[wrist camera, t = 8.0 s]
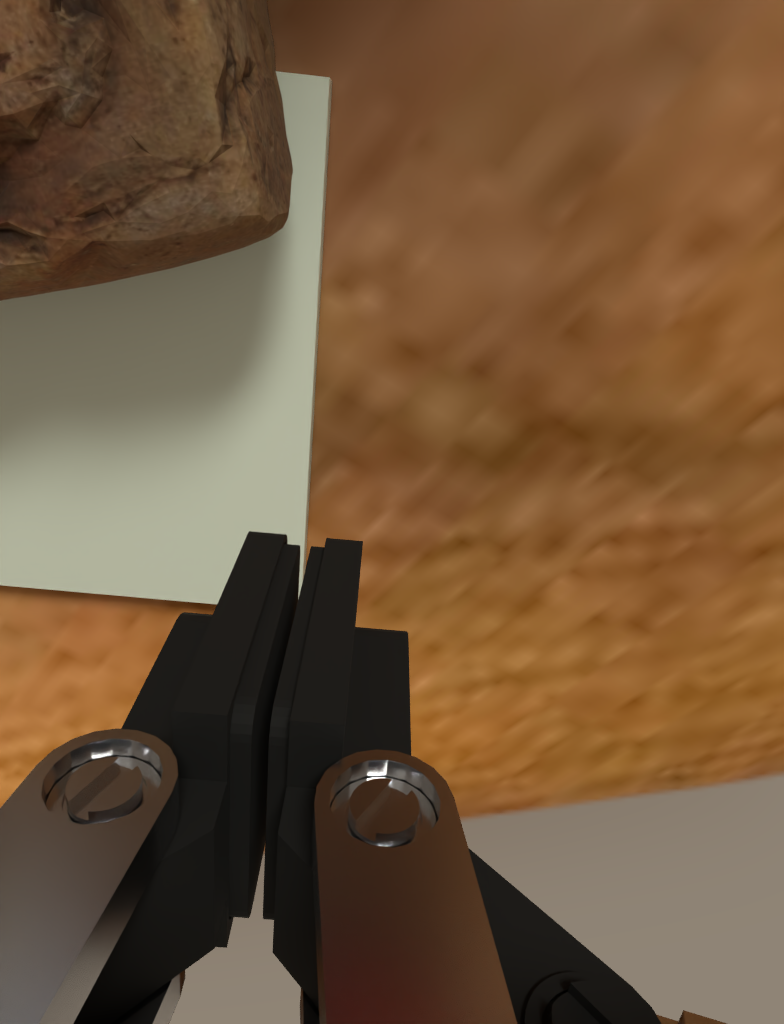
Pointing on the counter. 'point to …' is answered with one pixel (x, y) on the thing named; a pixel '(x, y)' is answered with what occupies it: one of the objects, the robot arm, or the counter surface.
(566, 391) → the counter surface
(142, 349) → the cutting board
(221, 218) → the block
